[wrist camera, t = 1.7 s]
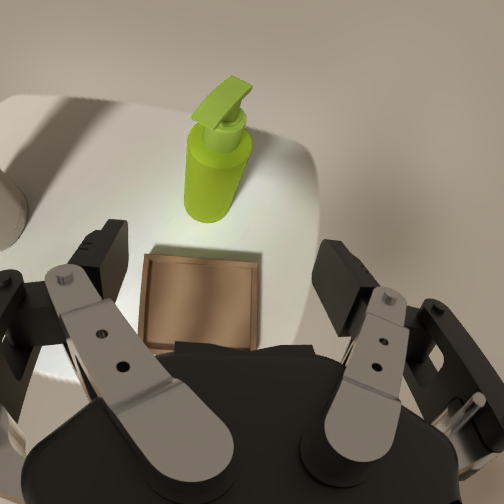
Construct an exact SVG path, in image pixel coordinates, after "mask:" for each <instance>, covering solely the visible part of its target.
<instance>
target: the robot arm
mask: <svg viewBox="0 0 504 504" xmlns="http://www.w3.org/2000/svg"><path fill="white" fill-rule="evenodd" d="M27 214H28V207H27V201H26V199H25V197H24V195H23V194H22V193H21V192H20V191H19V190H18V189H17V187H16V186H15V185H14V184H13V183H12V182H11V181H10V179H9V178H8V177H7V176H6V175H5V174H4V172H3V171H2V170H1V169H0V251H1V250H4V249H6V248H8V247H10V246H11V245H12V244H13V243H14V242H15V241H16V240H17V239H18V238H19V236H20V235H21V233H22V231H23V229H24V227H25V223H26V220H27ZM128 259H129V253H128V223H127V220H116V219H109V220H108V221H107V222H106V224H105V225H104V227H103V228H102V230H95V231H93V232H92V233H90V234H88V235H87V236H86V237H85V239H84V240H83V241H82V244H80V246H79V247H78V249H77V250H76V251H75V253H74V254H73V256H72V257H71V259H70V260H69V262H68V263H67V264H64V265H59V266H56V267H54V268H52V269H51V270H50V271H48V272H47V274H46V275H45V281H40V282H30V283H24V280H23V276H22V274H21V273H20V272H19V271H17V270H13V269H9V270H3V271H0V497H1V498H3V499H6V500H9V501H11V502H14V503H17V504H462V501H461V497H460V491H459V481H464V480H466V479H468V478H469V477H470V476H472V475H473V474H475V473H476V472H477V471H479V470H480V469H482V468H483V467H484V466H485V465H487V464H488V463H489V462H491V461H492V460H493V459H494V458H496V457H497V456H498V455H499V454H501V453H502V452H503V451H504V383H503V382H502V380H501V379H500V377H499V376H498V374H497V373H496V371H495V370H494V368H493V367H492V365H491V364H490V362H489V361H488V360H487V358H486V357H485V355H484V354H483V352H482V351H481V350H480V348H479V347H478V346H477V344H476V343H475V341H474V340H473V339H472V338H471V336H470V335H469V333H468V332H467V331H466V330H465V328H464V327H463V326H462V324H461V323H460V322H459V320H458V319H457V318H456V317H455V315H454V314H453V313H452V312H451V310H450V309H449V308H448V307H447V306H446V305H444V304H443V303H441V302H440V301H437V300H435V299H425V300H424V302H423V304H422V306H421V308H420V309H419V308H415V307H411V306H407V302H406V300H405V298H404V297H403V296H402V295H401V294H400V293H398V292H397V291H395V290H393V289H391V288H387V287H381V286H380V285H379V284H378V283H377V281H376V280H375V279H374V277H373V276H372V275H371V274H370V273H369V271H368V270H367V268H365V266H364V265H363V263H362V262H361V261H360V260H359V259H358V258H357V257H355V256H354V255H353V254H351V253H350V252H349V250H348V249H347V248H346V247H345V245H344V244H343V243H342V242H341V241H336V240H327V239H324V240H323V241H322V243H321V245H320V248H319V251H318V255H317V258H316V261H315V264H314V268H313V271H312V284H313V286H314V288H315V290H316V292H317V294H318V296H319V298H320V300H321V302H322V304H323V306H324V308H325V310H326V312H327V315H328V317H329V319H330V320H331V323H332V325H333V327H334V329H335V331H336V333H337V335H338V337H346V336H347V337H349V336H351V340H350V342H349V344H348V346H347V348H346V351H345V353H344V355H343V358H342V360H341V362H340V363H339V362H337V361H335V360H333V359H330V358H327V357H324V356H320V355H316V354H315V352H314V349H313V346H312V345H279V346H274V347H269V348H264V349H259V350H253V351H242V350H238V349H233V348H228V347H224V346H220V345H215V344H211V343H197V342H182V341H175V346H174V351H173V352H167V353H162V354H158V355H155V356H154V355H153V354H152V353H151V351H150V350H149V349H148V348H147V346H146V345H145V344H144V343H143V341H142V340H141V339H140V337H139V336H138V335H137V334H136V332H135V331H134V330H133V328H132V327H131V326H130V324H129V323H128V322H127V320H126V319H125V317H124V316H123V315H122V313H121V312H120V311H119V309H118V308H117V306H116V305H115V302H116V299H117V296H118V293H119V291H120V288H121V285H122V282H123V280H124V277H125V274H126V272H127V268H128ZM4 335H6V336H5V338H4V340H3V342H2V339H3V337H4ZM55 344H62V345H63V348H64V350H65V352H66V354H67V357H68V359H69V361H70V363H71V365H72V367H73V369H74V371H75V373H76V375H77V377H78V379H79V381H80V383H81V385H82V387H83V390H84V392H85V394H86V396H87V398H88V400H89V402H90V403H89V404H88V405H86V406H85V407H84V408H82V409H81V410H80V411H79V412H77V413H76V414H75V415H74V416H73V417H71V418H70V419H68V420H67V421H66V422H65V423H63V424H62V425H61V426H60V427H58V428H57V429H56V430H55V431H53V432H52V433H51V434H49V435H48V436H47V437H46V438H44V439H43V440H42V441H41V442H39V443H38V444H37V445H36V446H35V447H34V448H33V449H32V450H31V451H30V452H29V454H28V455H27V457H26V452H25V446H26V445H25V444H26V442H25V436H24V434H23V432H22V430H21V429H20V427H19V426H18V425H17V424H18V420H19V416H20V413H21V409H22V405H23V402H24V398H25V395H26V391H27V388H28V385H29V382H30V378H31V376H32V373H33V370H34V367H35V364H36V361H37V358H38V355H39V353H40V350H41V347H42V346H45V345H55ZM436 344H437V346H438V347H439V349H440V350H441V352H442V353H443V356H444V364H443V366H442V368H441V369H440V371H439V372H437V370H436V368H435V366H434V365H433V363H432V361H431V360H430V358H429V354H430V353H431V351H432V350H433V348H434V347H435V345H436ZM402 376H404V378H405V380H406V382H407V384H408V387H409V389H410V391H411V393H412V395H413V397H414V398H415V401H416V403H417V405H418V407H419V409H420V411H421V414H422V416H423V418H424V419H422V418H421V417H419V416H418V415H416V414H415V413H413V412H412V411H410V410H409V409H407V408H406V407H404V406H403V405H401V401H400V400H399V391H400V387H401V381H402Z"/></svg>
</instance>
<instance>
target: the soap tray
mask: <svg viewBox="0 0 504 504" xmlns="http://www.w3.org/2000/svg"><path fill="white" fill-rule="evenodd" d="M257 293H258V263H253V262H240V261H228V260H215V259H203V258H191V257H178V256H167V255H155V254H144V263H143V272H142V283H141V294H140V306H139V321H138V336H139V337H140V339H141V340H142V341H143V343H144V344H145V345H146V346H147V348H148V349H149V350H150V351H151V353H152V354H154V355H158V354H162V353H167V352H173V351H174V346H175V341H182V342H197V343H211V344H215V345H220V346H224V347H228V348H233V349H238V350H242V351H253V350H256V340H257Z"/></svg>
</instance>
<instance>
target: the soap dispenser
mask: <svg viewBox="0 0 504 504" xmlns="http://www.w3.org/2000/svg"><path fill="white" fill-rule="evenodd" d="M252 87H253V86H252V85H251V84H249V83H247V82H245V81H243V80H240V79H239V78H236V77H235V76H230V77H229V78H228V79H226V80H225V81H224V82H223V83H221V84H220V85H219V86H218V87H217V88H216V89H215V90H213V91H212V92H211V93H210V95H209V96H207V97H206V99H205V100H204V101H203V102H202V103H201V104H200V105H199V107H198V108H197V109H196V111H195V112H194V113H193V114H192V116H191V117H190V119H192V120H194V121H196V122H198V123H197V124H196V125H195V126H194V127H193V128H192V129H191V131H190V133H189V135H188V140H187V155H186V172H185V193H184V205H185V209H186V211H187V213H188V214H189V215H190V216H191V217H192V218H193V219H195V220H197V221H199V222H202V223H213V222H217V221H219V220H221V219H222V218H223V217H224V216H225V215H226V214H227V212H228V211H229V208H230V205H231V203H232V200H233V197H234V195H235V192H236V190H237V187H238V184H239V182H240V179H241V177H242V174H243V171H244V169H245V166H246V164H247V161H248V159H249V156H250V154H251V151H252V140H251V137H250V135H249V133H248V131H247V130H246V129H245V128H244V127H245V124H246V115H245V113H244V112H243V110H242V109H241V108H240V104H241V101H242V99H243V98H244V97H245V96H246V95H247V94H248V93H249V92H250V91H251V90H252Z"/></svg>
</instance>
